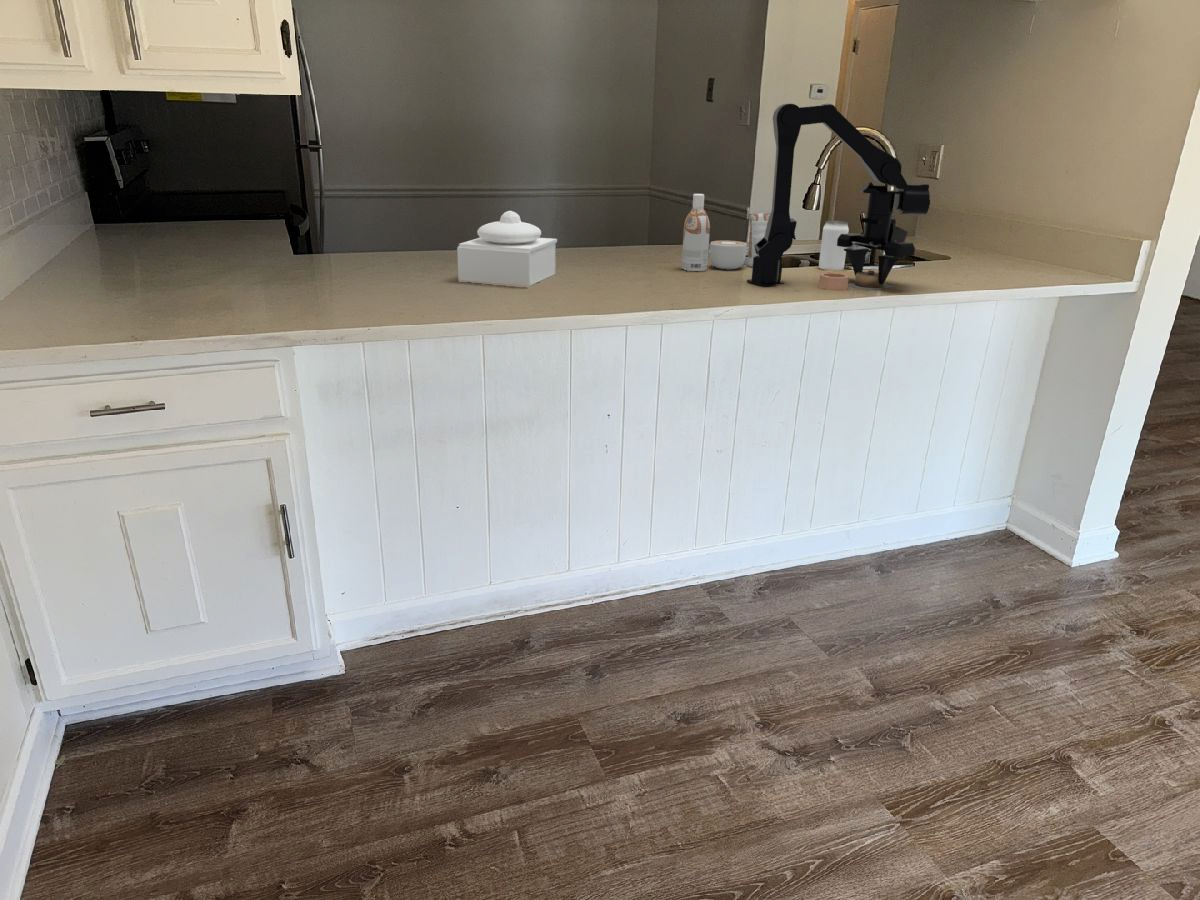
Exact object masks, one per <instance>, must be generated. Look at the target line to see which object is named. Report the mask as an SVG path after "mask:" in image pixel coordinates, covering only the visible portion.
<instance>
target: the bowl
mask: <svg viewBox="0 0 1200 900" xmlns="http://www.w3.org/2000/svg"><path fill="white" fill-rule="evenodd" d="M818 278H819V280H818V289H821V290H827V291H836V292H837V291H847V290H848V287H849V286H848V283H849V279H850V277H849V274H845V273H841V272H838V273H837V272H823V273H822V272H821V273H819V277H818Z"/></svg>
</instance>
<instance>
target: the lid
mask: <svg viewBox="0 0 1200 900" xmlns="http://www.w3.org/2000/svg"><path fill="white" fill-rule="evenodd" d="M854 283H855V285H856V286H860V287H866V288H882V287H884V284H885V283H884V284H882V285H880V284H879V278H878V272H875V270H872V269H871V270H869V269H868V271H863V272H858V273H856V276H855V280H854Z"/></svg>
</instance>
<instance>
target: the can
mask: <svg viewBox="0 0 1200 900" xmlns="http://www.w3.org/2000/svg"><path fill="white" fill-rule="evenodd" d="M848 224H849V223H848V221H847V222H846V221H841V220H827V221H825V224H824V226H823V227H822V228H823V229H822V234H821V241H820V242H821V243H820V253H819V262H818V268H819V269H820V270H823V271H829V270H831V271H834V270H835V271H836V270H837V271H839V270H845V261H846V255H847V253H846V251H844V248H846V247H840V246H837V240H838V237H839V236H840V235H841V234H848V233H849V231H850V229H849V225H848Z"/></svg>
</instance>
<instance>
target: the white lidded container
mask: <svg viewBox="0 0 1200 900" xmlns="http://www.w3.org/2000/svg"><path fill="white" fill-rule="evenodd" d="M476 233H477V235H478V237H477V238H475V239H471V240H468V241H464V242H461V243H458V246H457V247H456V248H457V249H456V253H457V272H458V273H457V275H458V276H457V277H458V279H457V280H458V281H459V280H464V281H474V282H483V283H495V284H509V285H523V286H530V285H532V284H534V283H536V282H539V281H541V280H543V279H545V278H547V277H550V276H552V275H554V274H556V273H557V272H556V269H557V268H556V267H557V266H556V265H557V263H556V261H557V259H556V253H557V252H556V251H557V250H556V249H557V248H556V245H557V244H556V243H558V238H552V237H551V238H550V237H549V238H547V237H541V235H542V230H541V229H540V228H539V227H538V226H536V225H534V224H532V223H528V222H524V221H522V220H521V217H520V214H518V213H517V212H515V211H513V210H508V211H505V212H504V213H503V214H502V215H501V216H500V219H499V221H498V220H497V221H492V222H489V223H486V224H483V225H481V226H480V227H478V229H477V231H476Z"/></svg>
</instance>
